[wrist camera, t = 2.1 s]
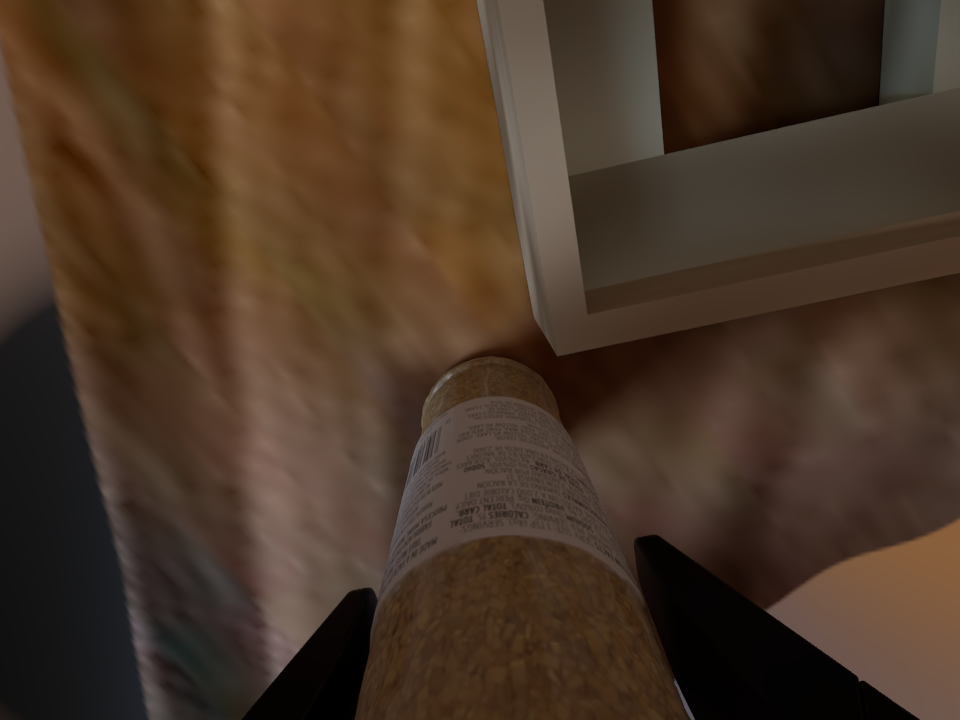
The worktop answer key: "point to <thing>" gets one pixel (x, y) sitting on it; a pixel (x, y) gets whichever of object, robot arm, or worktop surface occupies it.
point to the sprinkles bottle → (507, 573)
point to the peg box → (713, 178)
